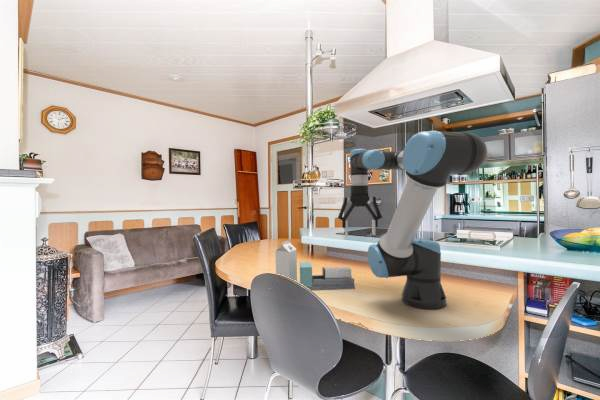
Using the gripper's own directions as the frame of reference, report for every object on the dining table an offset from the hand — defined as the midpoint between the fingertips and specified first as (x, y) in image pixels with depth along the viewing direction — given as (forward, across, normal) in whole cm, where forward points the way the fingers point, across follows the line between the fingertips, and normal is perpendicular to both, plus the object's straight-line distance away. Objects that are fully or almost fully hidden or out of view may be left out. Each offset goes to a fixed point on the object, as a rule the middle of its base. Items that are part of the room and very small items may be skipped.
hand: (360, 235), depth 130 cm
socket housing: (+21, +24, 0) cm, 32 cm away
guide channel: (+22, +15, 0) cm, 27 cm away
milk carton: (+22, +33, -7) cm, 40 cm away
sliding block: (+20, +11, 0) cm, 23 cm away
